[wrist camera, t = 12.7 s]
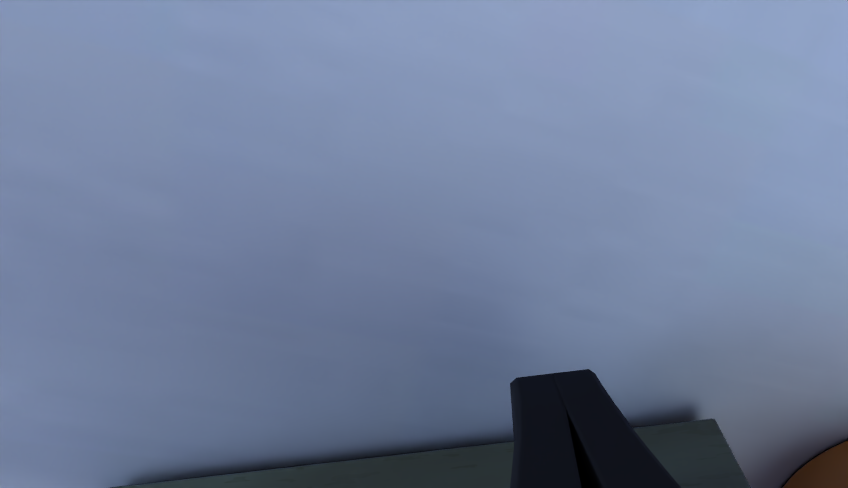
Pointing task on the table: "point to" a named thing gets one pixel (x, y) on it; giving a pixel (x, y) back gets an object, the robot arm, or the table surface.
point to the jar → (823, 470)
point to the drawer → (489, 465)
